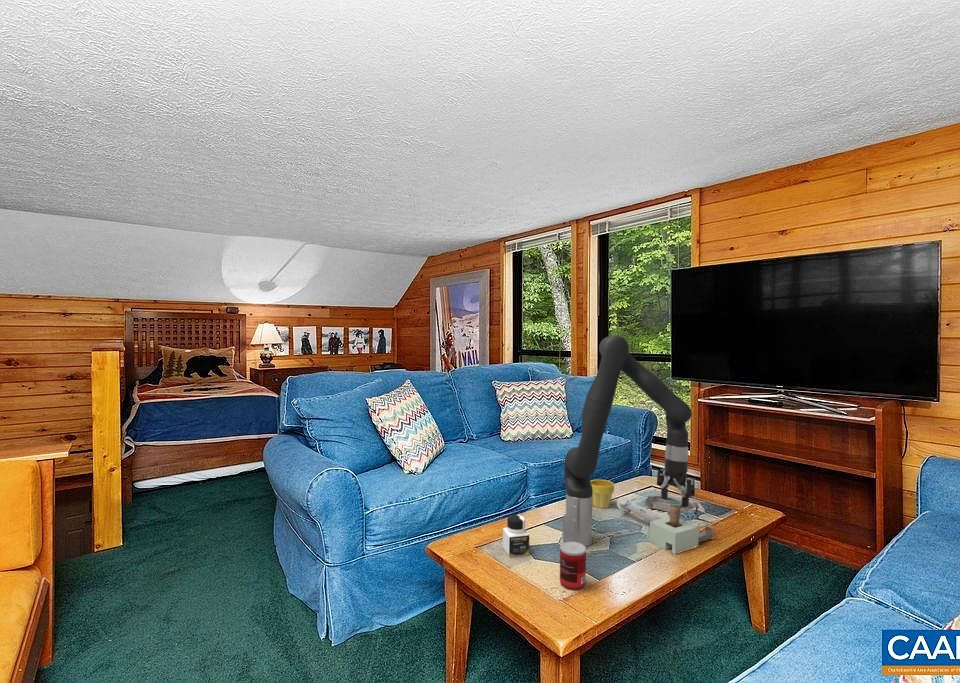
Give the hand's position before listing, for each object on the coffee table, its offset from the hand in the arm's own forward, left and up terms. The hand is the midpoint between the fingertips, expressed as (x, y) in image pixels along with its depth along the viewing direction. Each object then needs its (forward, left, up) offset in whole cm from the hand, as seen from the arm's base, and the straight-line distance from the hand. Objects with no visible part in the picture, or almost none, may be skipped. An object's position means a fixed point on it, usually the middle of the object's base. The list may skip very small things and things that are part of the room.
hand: (674, 503), depth 172 cm
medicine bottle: (-53, +21, -15) cm, 59 cm away
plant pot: (+3, +40, -15) cm, 43 cm away
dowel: (0, 0, -12) cm, 12 cm away
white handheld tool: (+7, +18, -13) cm, 23 cm away
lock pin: (+11, -3, -15) cm, 18 cm away
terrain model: (+28, +25, -16) cm, 41 cm away
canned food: (-49, -4, -15) cm, 51 cm away
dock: (0, 0, -15) cm, 15 cm away
